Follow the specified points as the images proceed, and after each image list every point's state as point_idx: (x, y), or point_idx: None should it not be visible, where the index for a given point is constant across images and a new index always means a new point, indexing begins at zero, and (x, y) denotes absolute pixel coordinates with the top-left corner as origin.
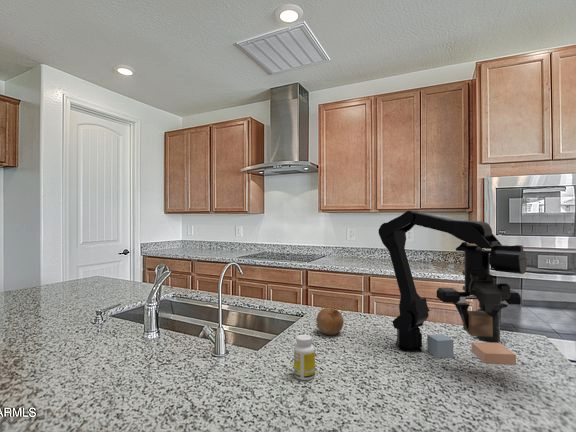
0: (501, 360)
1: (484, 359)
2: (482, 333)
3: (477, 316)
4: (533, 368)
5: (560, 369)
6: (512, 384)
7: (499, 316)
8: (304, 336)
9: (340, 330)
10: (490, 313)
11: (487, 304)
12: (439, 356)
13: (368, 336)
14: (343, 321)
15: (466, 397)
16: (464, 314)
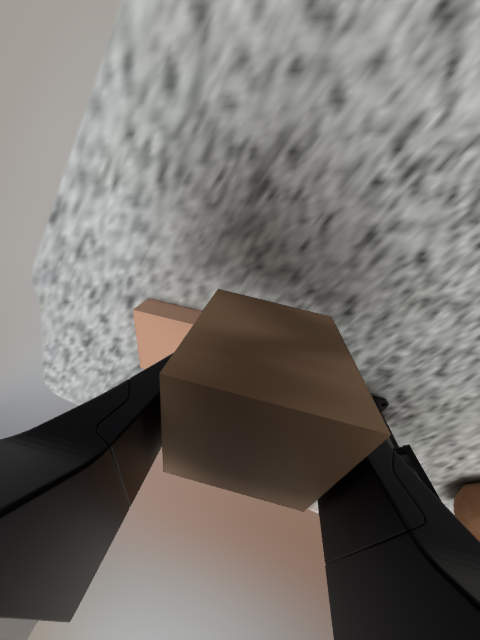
0: (177, 310)
1: None
2: (271, 310)
3: (320, 416)
4: (118, 274)
5: (59, 261)
6: (225, 190)
7: None
8: None
9: (469, 491)
10: (140, 429)
11: (89, 551)
12: None
13: None
14: (475, 519)
15: (475, 91)
16: (406, 477)
